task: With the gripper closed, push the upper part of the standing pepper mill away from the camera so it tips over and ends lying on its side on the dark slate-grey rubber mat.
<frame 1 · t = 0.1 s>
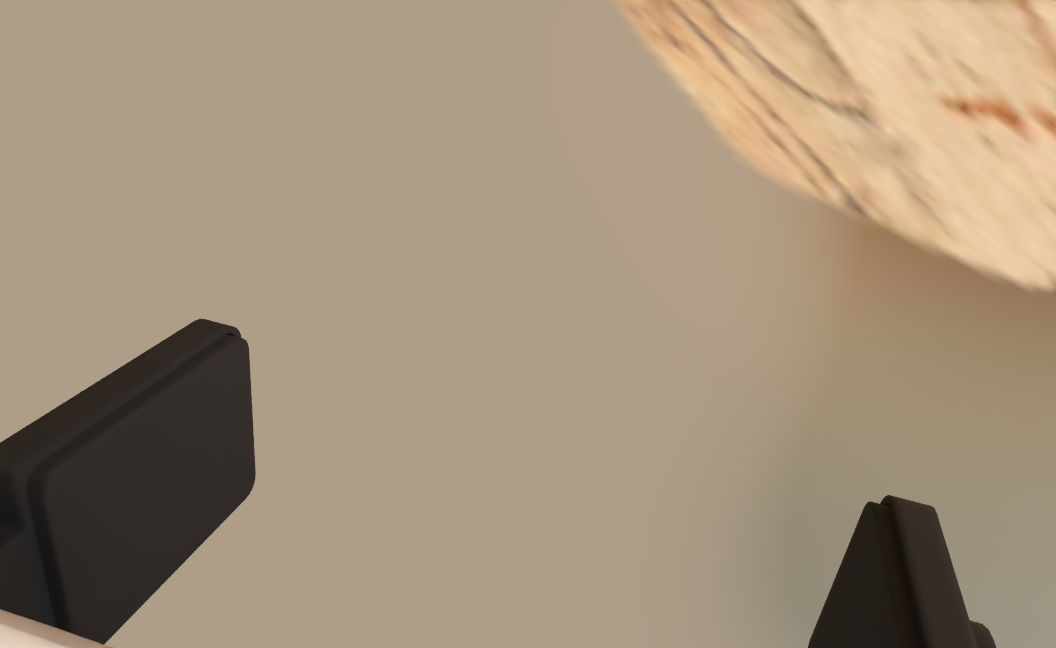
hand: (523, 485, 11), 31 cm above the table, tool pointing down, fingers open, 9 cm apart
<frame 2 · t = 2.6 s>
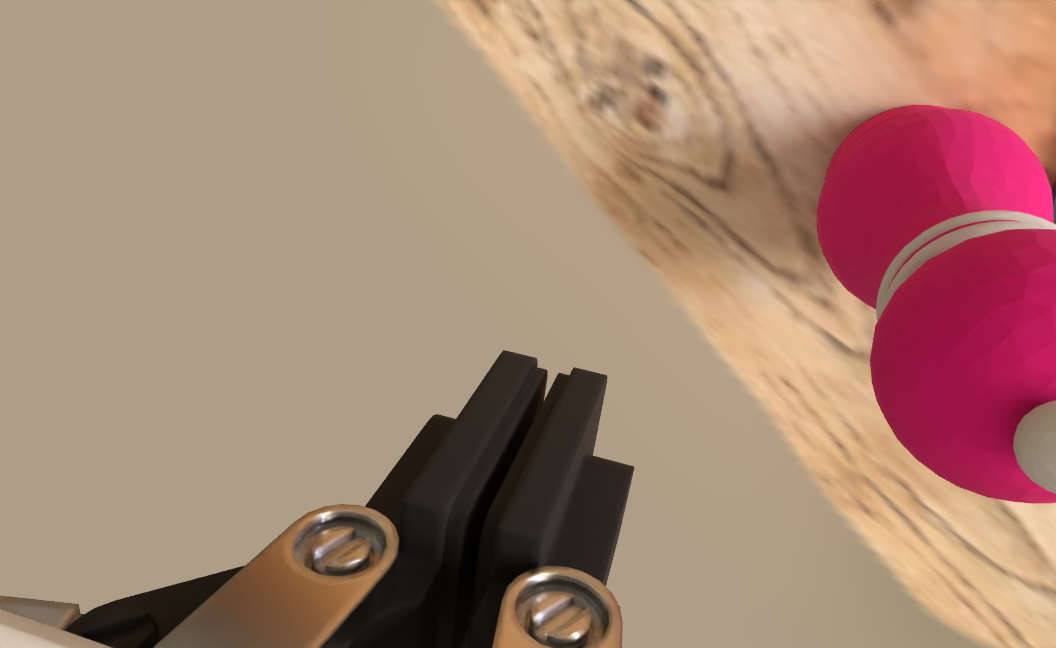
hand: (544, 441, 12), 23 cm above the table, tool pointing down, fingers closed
pepper mill: (906, 183, 31), on the table
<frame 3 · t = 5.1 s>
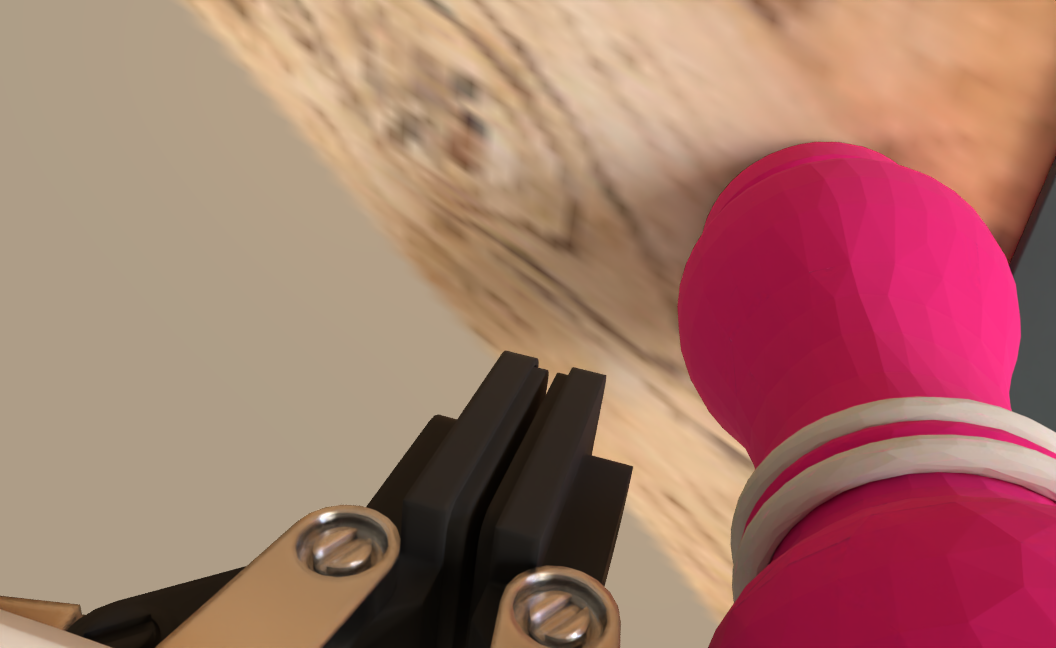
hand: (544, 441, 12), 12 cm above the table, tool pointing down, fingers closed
pepper mill: (812, 247, 22), on the table
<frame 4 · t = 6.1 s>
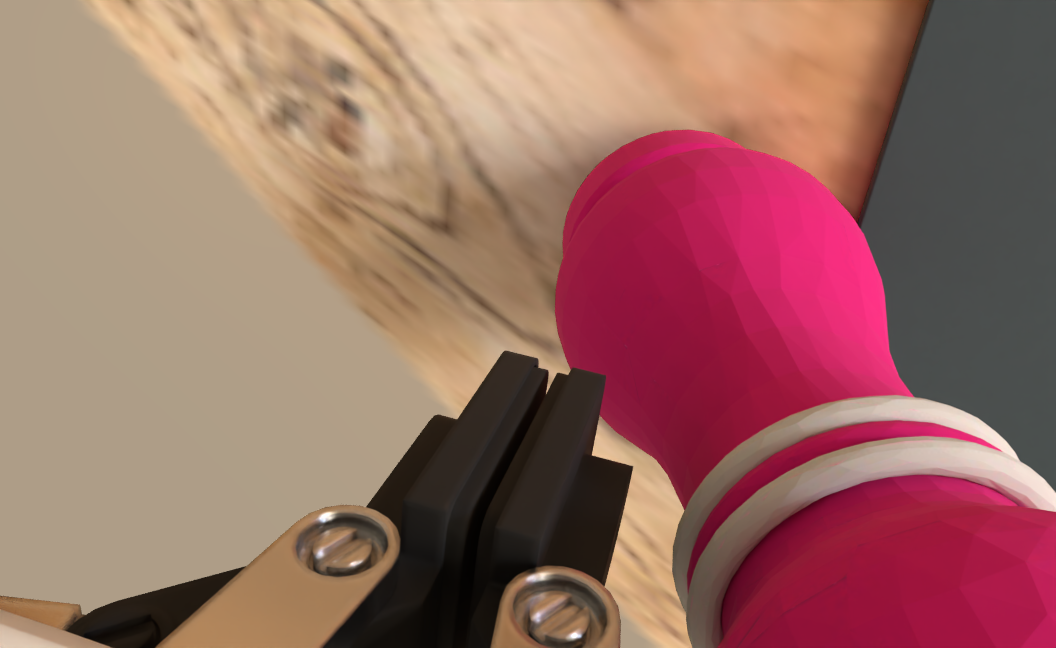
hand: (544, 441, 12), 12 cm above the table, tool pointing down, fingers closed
pepper mill: (670, 235, 22), point 1 cm above the table
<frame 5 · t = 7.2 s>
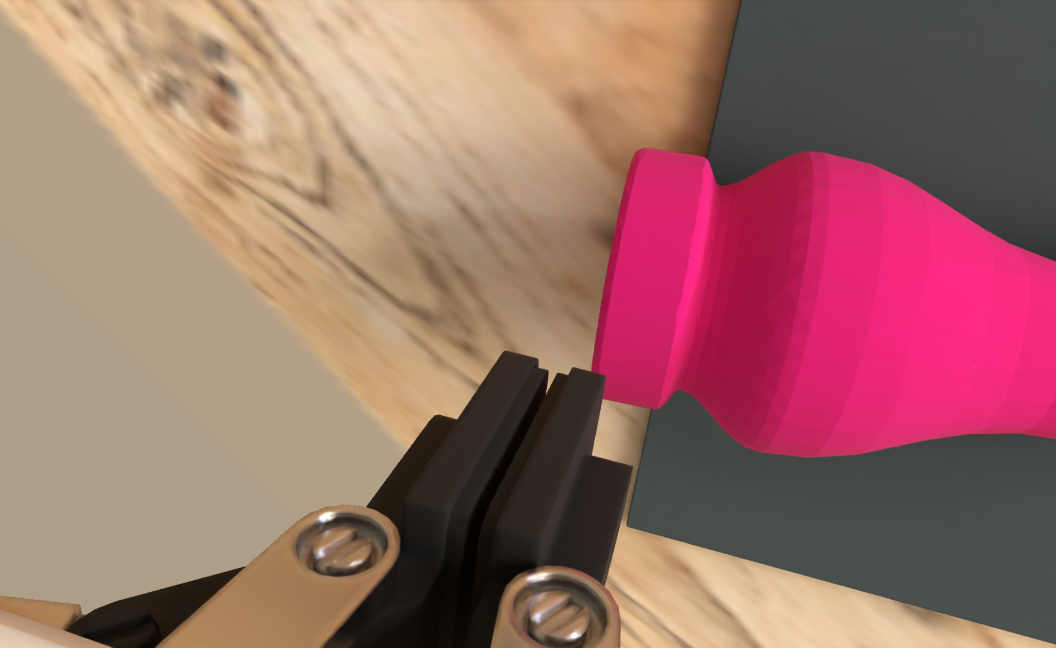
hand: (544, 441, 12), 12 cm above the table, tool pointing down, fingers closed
pepper mill: (606, 271, 19), point 4 cm above the table, touching mat
mat: (981, 286, 21), on the table
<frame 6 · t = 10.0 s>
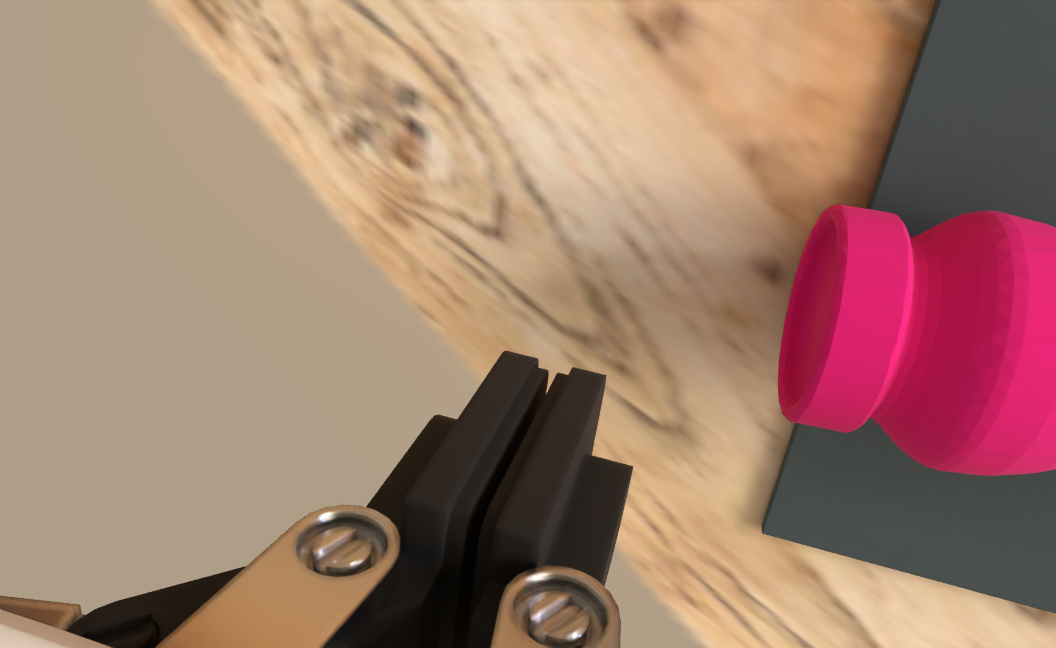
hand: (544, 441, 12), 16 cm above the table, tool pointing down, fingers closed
pepper mill: (797, 311, 22), point 4 cm above the table, touching mat
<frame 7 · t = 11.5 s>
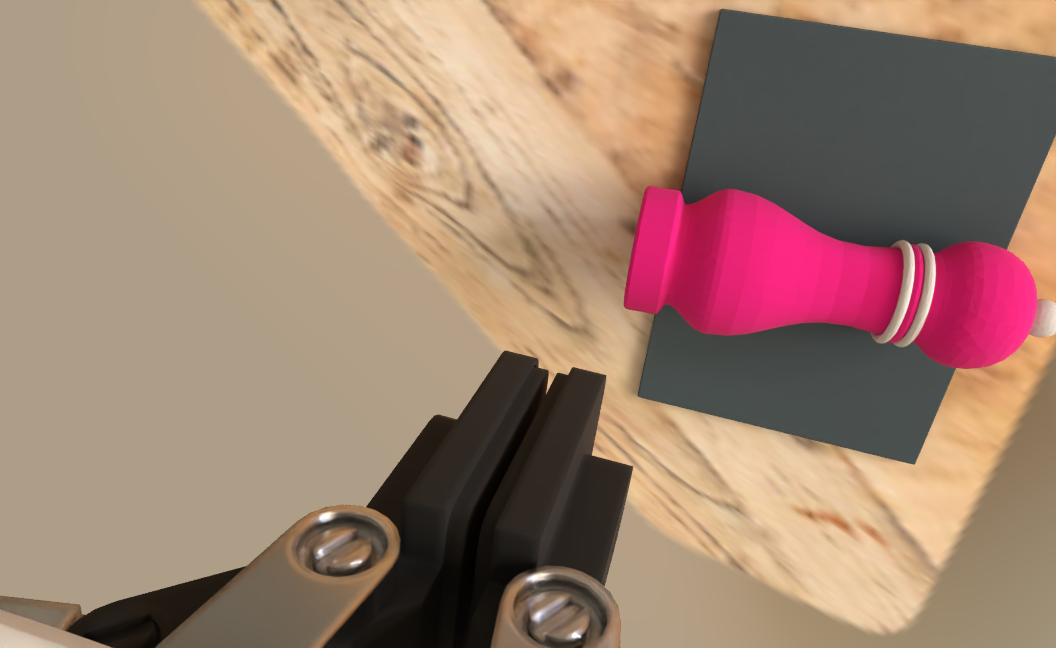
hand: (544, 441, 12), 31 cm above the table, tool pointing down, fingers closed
pepper mill: (630, 246, 39), point 4 cm above the table, touching mat
mat: (825, 253, 41), on the table
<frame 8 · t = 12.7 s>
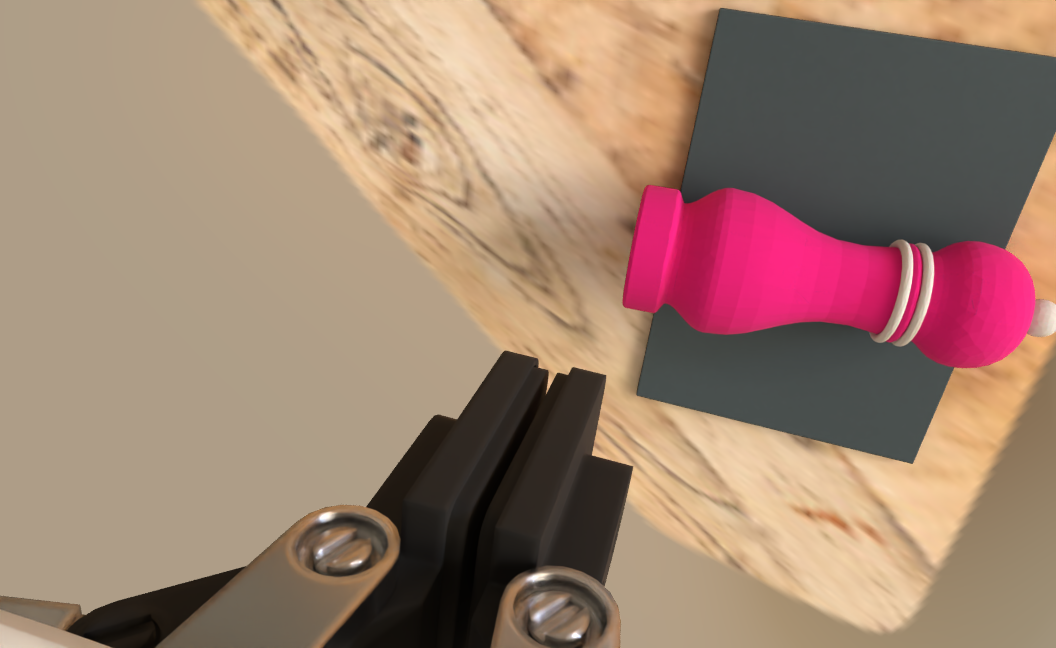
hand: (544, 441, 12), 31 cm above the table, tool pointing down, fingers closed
pepper mill: (629, 245, 39), point 4 cm above the table, touching mat
mat: (824, 252, 41), on the table
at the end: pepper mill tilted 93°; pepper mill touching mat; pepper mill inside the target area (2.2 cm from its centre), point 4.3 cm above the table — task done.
